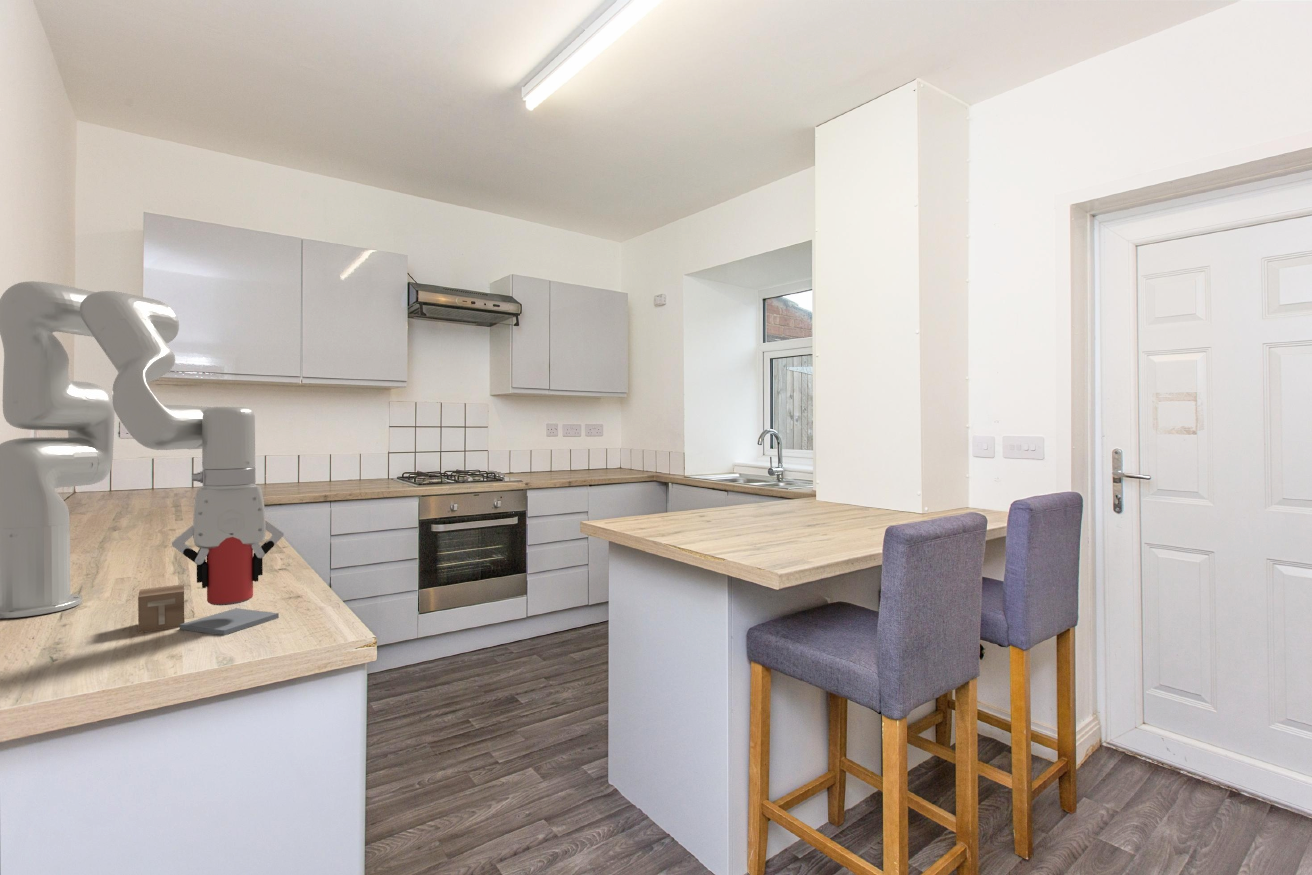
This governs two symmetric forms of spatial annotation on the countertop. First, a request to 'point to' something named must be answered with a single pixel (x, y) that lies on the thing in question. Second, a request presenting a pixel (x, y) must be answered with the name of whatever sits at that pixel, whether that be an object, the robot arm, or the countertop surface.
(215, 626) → the grey mat
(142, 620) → the letter block
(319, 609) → the countertop surface
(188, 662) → the countertop surface
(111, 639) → the countertop surface
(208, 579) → the beer can
